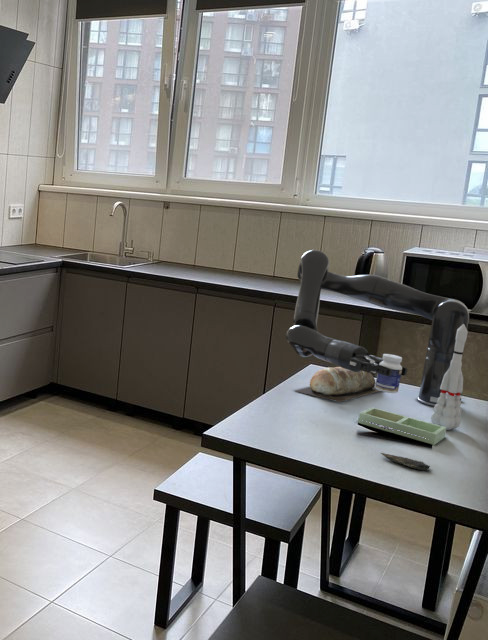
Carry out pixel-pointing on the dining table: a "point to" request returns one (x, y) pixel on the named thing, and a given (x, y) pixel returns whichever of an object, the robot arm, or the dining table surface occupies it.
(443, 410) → the rocket model
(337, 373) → the bread loaf
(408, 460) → the arrowhead
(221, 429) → the dining table surface
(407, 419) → the holder
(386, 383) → the pill bottle
